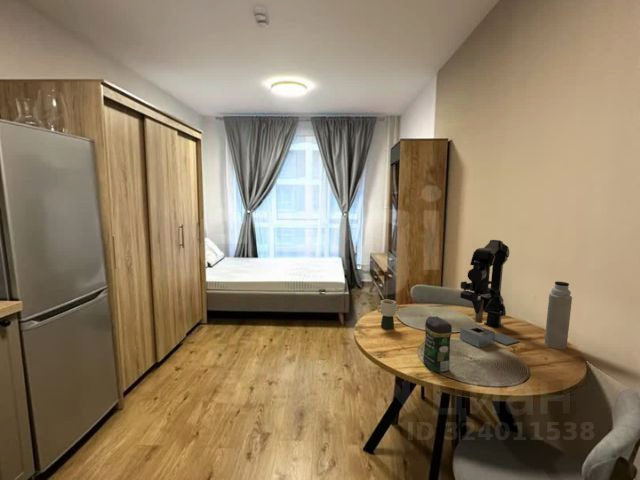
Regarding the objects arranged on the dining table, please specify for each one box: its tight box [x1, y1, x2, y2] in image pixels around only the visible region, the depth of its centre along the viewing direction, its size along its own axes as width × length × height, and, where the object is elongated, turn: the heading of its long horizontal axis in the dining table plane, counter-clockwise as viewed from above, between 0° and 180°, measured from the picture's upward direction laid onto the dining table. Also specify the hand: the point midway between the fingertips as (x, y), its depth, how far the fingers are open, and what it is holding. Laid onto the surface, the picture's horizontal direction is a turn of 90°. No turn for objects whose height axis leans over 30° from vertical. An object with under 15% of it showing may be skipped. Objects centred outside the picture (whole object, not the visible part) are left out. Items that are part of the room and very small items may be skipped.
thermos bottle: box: [544, 281, 573, 350], centre depth 145 cm, size 8×8×28 cm
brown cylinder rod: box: [474, 299, 484, 324], centre depth 148 cm, size 3×3×10 cm
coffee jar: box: [422, 315, 453, 373], centre depth 125 cm, size 10×8×19 cm
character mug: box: [377, 299, 400, 330], centre depth 163 cm, size 11×7×13 cm, turn 103°
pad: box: [495, 333, 520, 347], centre depth 151 cm, size 9×9×1 cm
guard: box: [459, 324, 496, 348], centre depth 149 cm, size 10×10×5 cm
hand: (479, 313), depth 148 cm, fingers closed on brown cylinder rod, 3 cm apart
